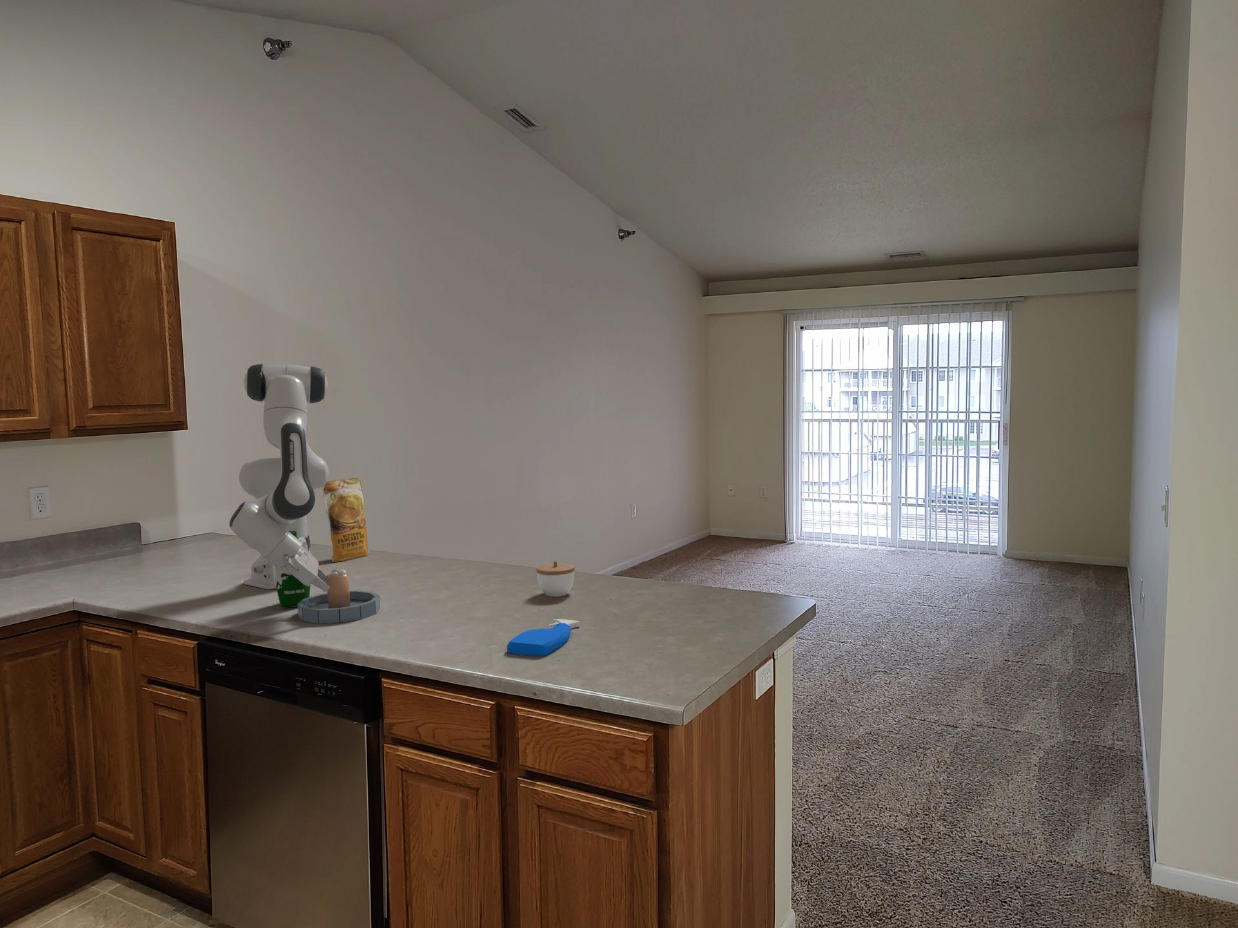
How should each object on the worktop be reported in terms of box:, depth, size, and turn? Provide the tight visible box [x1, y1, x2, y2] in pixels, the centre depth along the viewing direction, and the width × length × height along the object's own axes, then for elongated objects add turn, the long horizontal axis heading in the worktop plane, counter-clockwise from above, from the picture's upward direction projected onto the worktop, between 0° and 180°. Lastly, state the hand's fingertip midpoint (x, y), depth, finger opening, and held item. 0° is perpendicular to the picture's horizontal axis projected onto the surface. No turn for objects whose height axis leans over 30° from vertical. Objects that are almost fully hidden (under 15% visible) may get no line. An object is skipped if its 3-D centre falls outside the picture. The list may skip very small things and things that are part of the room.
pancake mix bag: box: [321, 477, 370, 563], centre depth 295 cm, size 7×19×28 cm, turn 149°
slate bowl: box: [297, 590, 381, 625], centre depth 222 cm, size 20×20×4 cm
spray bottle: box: [506, 618, 581, 657], centre depth 194 cm, size 3×11×24 cm
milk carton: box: [275, 531, 311, 610], centre depth 231 cm, size 9×9×20 cm
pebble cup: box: [326, 568, 351, 608], centre depth 221 cm, size 6×6×10 cm
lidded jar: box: [535, 560, 576, 598], centre depth 236 cm, size 11×11×9 cm
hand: (328, 585), depth 220 cm, fingers open, 8 cm apart
